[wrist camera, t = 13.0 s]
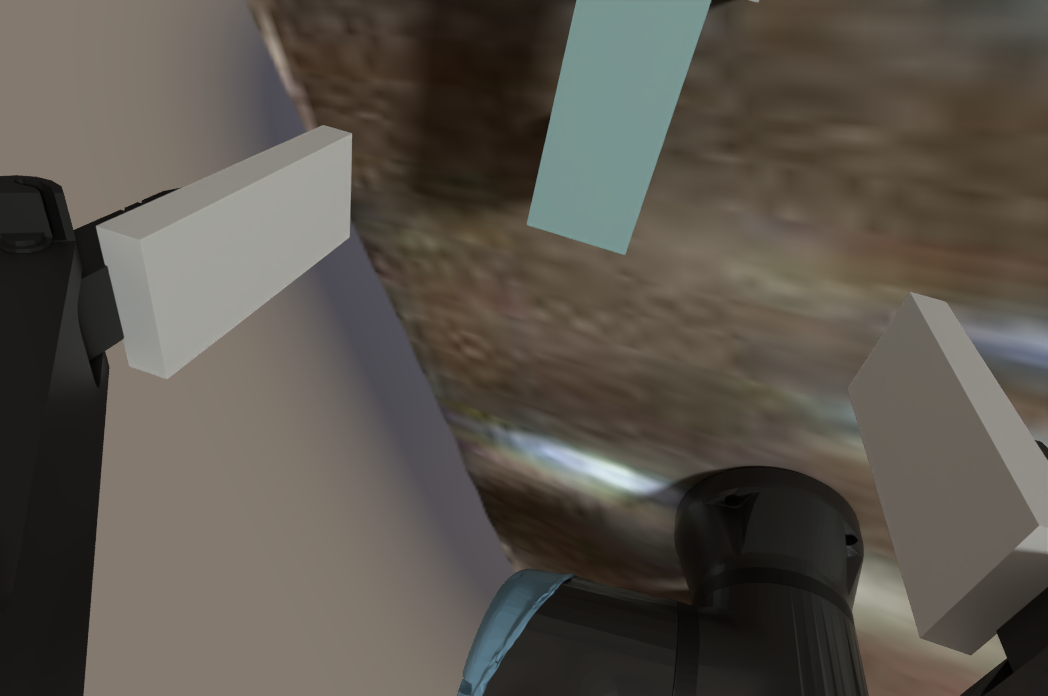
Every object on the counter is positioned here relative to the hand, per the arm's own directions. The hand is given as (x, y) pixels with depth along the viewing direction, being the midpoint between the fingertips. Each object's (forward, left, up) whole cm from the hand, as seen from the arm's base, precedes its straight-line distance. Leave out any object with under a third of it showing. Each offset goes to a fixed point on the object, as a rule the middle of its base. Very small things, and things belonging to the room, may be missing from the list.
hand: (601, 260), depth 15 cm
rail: (+2, +2, -27) cm, 27 cm away
